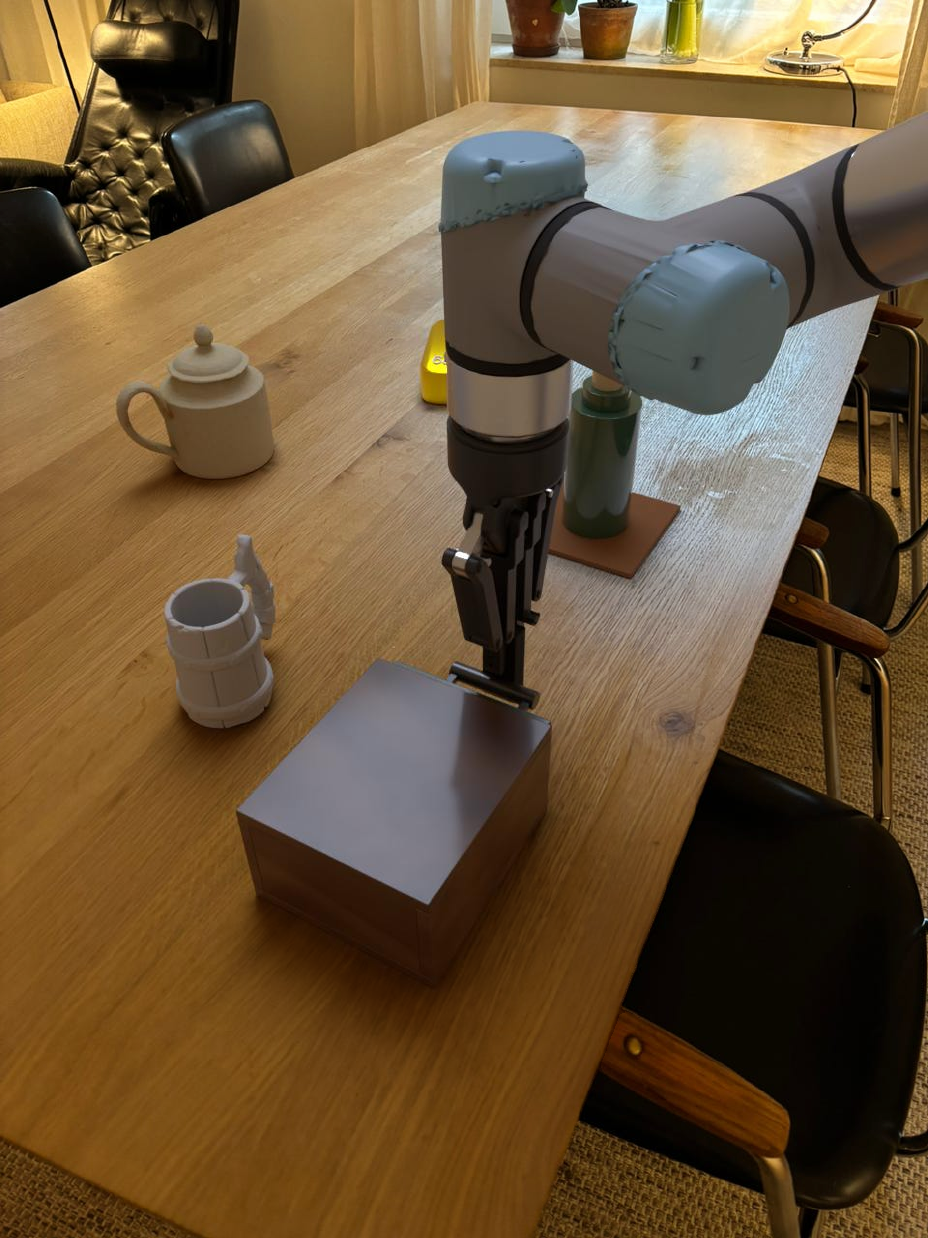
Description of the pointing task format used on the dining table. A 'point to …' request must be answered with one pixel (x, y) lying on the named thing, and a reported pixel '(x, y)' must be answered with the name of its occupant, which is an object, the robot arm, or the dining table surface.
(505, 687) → the drawer
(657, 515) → the cork mat
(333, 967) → the dining table surface
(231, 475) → the sugar bowl
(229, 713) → the mug
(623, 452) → the oil bottle
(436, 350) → the element tile
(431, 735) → the cabinet
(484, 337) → the robot arm
